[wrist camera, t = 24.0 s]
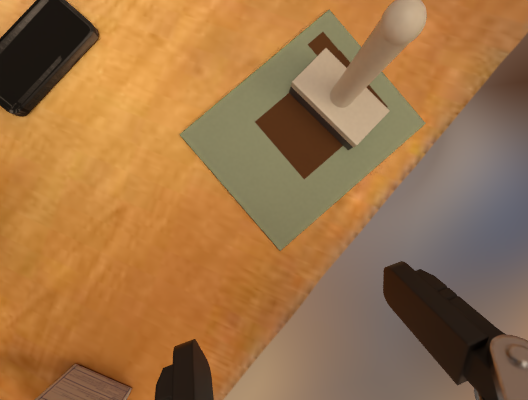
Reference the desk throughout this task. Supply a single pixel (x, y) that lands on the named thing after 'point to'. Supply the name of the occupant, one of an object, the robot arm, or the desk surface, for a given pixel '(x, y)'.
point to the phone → (41, 52)
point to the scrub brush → (357, 76)
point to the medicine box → (85, 387)
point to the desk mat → (293, 138)
